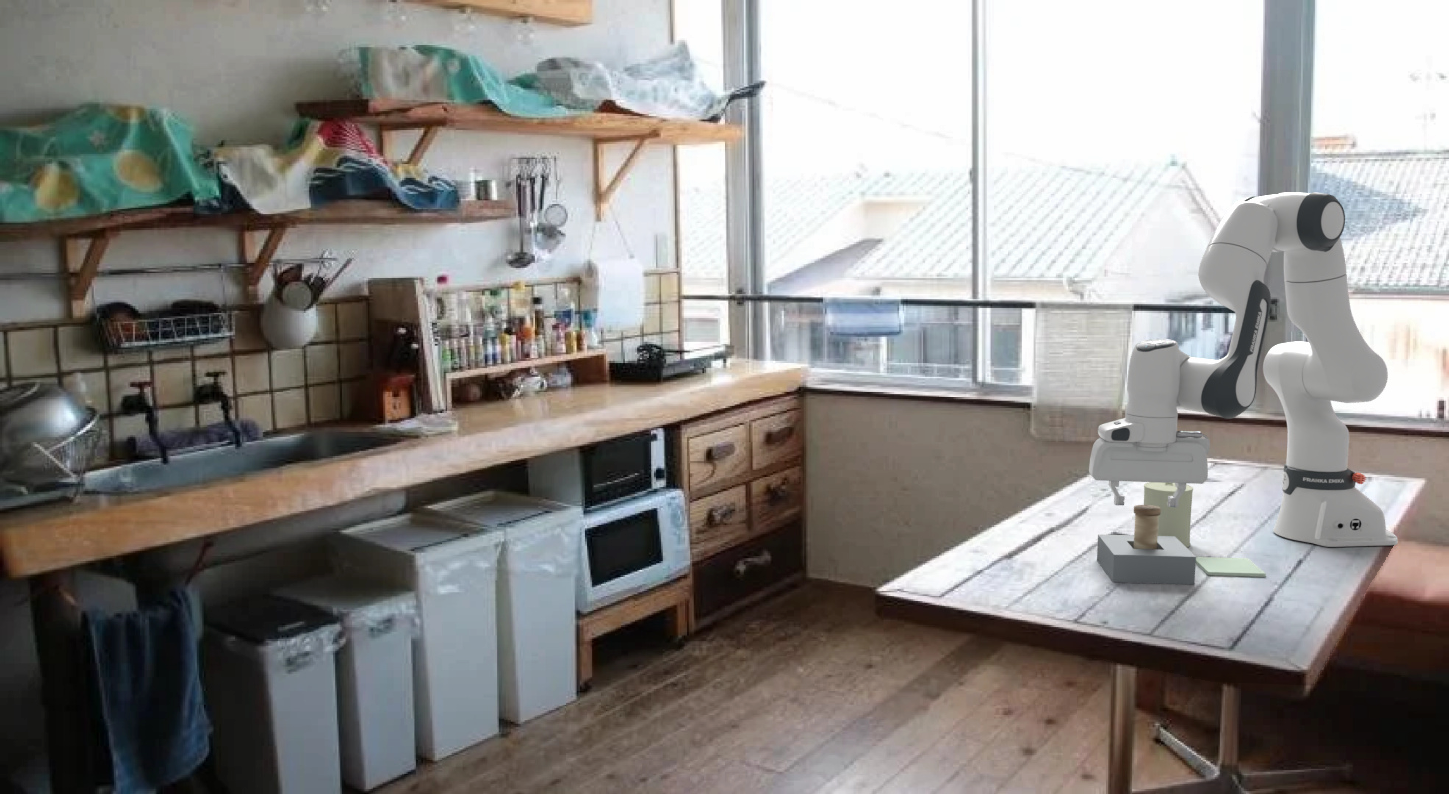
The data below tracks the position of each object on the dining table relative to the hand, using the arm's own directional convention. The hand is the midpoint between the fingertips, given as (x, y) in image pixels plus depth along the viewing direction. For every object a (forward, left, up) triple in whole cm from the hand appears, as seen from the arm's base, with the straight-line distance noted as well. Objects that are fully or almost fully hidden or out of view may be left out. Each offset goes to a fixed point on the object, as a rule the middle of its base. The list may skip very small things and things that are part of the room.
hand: (1145, 505), depth 220 cm
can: (-9, -21, -13) cm, 26 cm away
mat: (-16, -4, -12) cm, 21 cm away
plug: (0, 0, -12) cm, 12 cm away
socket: (0, 0, -12) cm, 12 cm away
